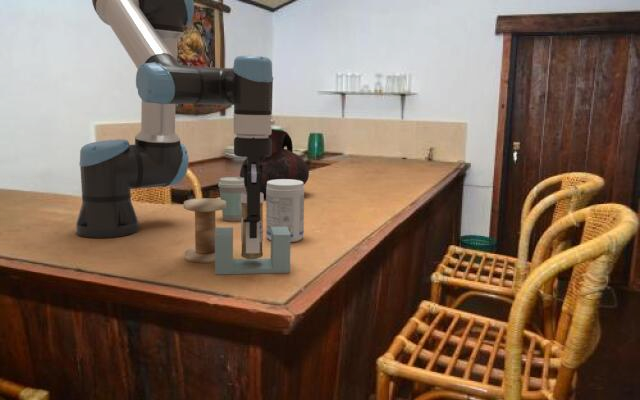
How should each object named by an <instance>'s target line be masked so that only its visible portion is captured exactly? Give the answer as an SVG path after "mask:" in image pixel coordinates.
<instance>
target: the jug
mask: <svg viewBox="0 0 640 400" xmlns="http://www.w3.org/2000/svg"><path fill="white" fill-rule="evenodd" d="M268 137H269V138H271V139H272V154H271V155H270V156H269V157H259V165H262V166H263V174H262V186H261V188H260V192H261V193H263V195H264V198H266V189H267V188H266V187H267V182H268V181H270V180H277V179H292V180H299V181H302V182H303V183H304V185H306V184H307V182H308V180H309V176H310V171H309V167H308V164H307V163H306V161H305V160H304V159H303V158H302V157H301V156H300V155H298V154H296V152H293V150H294V149H293V140H292V137H290V135H289V133H288V132H287V131H285V130H281V129H275V128H272V134H271V135H268ZM285 148H286V149H285ZM243 164H247V158H245V160H244V161H243V163H242V165H241V167H240V171H239V177H241V178H244V174H243Z"/></svg>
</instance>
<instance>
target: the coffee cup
mask: <svg viewBox="0 0 640 400" xmlns="http://www.w3.org/2000/svg"><path fill="white" fill-rule="evenodd" d="M217 186H218V188H219V197H220V198H219V199H221V200H224V201H226V208H225V209H223V210H221V214H222V220H224V221H226V222H240V221H241V217H242V204H241V203H242V202H241V194H242V193H243V192H246V188H245V186H244V178H241V177H240V176H229V177H228V176H225V177H221V178H219V182H218V185H217Z"/></svg>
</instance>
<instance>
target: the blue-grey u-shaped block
mask: <svg viewBox="0 0 640 400" xmlns="http://www.w3.org/2000/svg"><path fill="white" fill-rule="evenodd" d="M290 241H291V235H290V232H289V230H288V227H271V240H270V257H269V258H256V259H246V258H234V227H233V226H231V227H230V226H227V227H226V226H223V227H218V226H217V227H216V232H215V262H214V263H215V265H214V270H215V271H214V274H215V275H248V274H249V275H250V274H251V275H252V274H256V275H257V274H286V273H287V274H289V273H291V242H290Z"/></svg>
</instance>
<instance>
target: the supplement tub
mask: <svg viewBox="0 0 640 400" xmlns="http://www.w3.org/2000/svg"><path fill="white" fill-rule="evenodd" d="M304 186H305V184H304V183H303V182H302V181H299V180H292V179H277V180H270V181H268V182H267V187H266V188H267V189H266V197H265V201H266V202H265V203H266V206H265V207H266V208H265V209H266V210H265V215H266V217H265V220H266V221H265V223H266V225H265V227H266V229H265V230H266V234H265V235H266V238H267V239H268V240H269V241H271V227H288V230H289V232H290V235H291V241H290V243H295V242H299V241H301V240H302V239H303V238H304V234H305V233H304V232H305V228H304V226H305V224H304V223H305V221H304V220H305V187H304Z"/></svg>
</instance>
